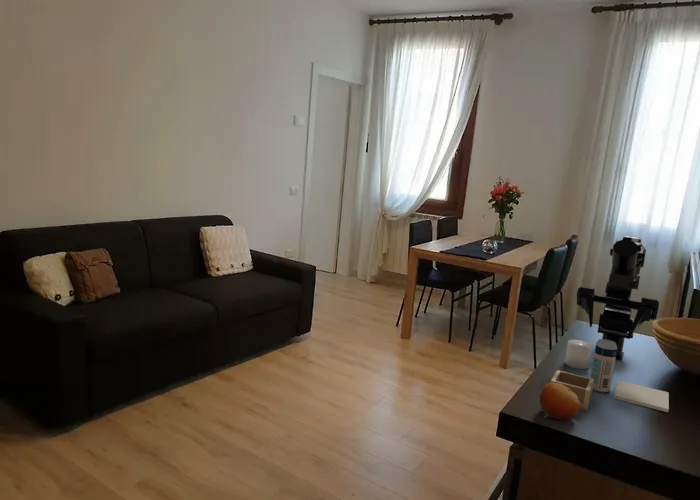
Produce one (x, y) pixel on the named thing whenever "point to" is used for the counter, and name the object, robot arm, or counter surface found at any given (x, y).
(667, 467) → the counter surface
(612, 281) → the robot arm
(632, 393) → the plate
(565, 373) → the oak box
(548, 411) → the fruit
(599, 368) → the beer can
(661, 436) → the counter surface
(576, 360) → the white rounded cylinder
